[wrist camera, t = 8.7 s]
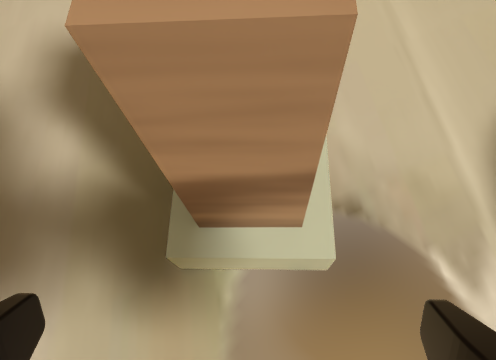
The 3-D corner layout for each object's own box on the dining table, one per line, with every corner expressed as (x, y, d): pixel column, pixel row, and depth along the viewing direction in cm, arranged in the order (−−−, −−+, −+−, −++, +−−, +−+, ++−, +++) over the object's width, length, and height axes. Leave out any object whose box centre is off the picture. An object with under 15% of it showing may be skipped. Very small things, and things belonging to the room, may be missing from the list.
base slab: (326, 270, 19) (335, 258, 17) (180, 268, 20) (165, 257, 17) (318, 140, 23) (324, 113, 20) (192, 142, 23) (181, 115, 20)
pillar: (302, 227, 17) (357, 14, 6) (199, 227, 18) (65, 25, 6) (297, 137, 19) (333, -153, 8) (205, 138, 20) (112, -137, 8)
